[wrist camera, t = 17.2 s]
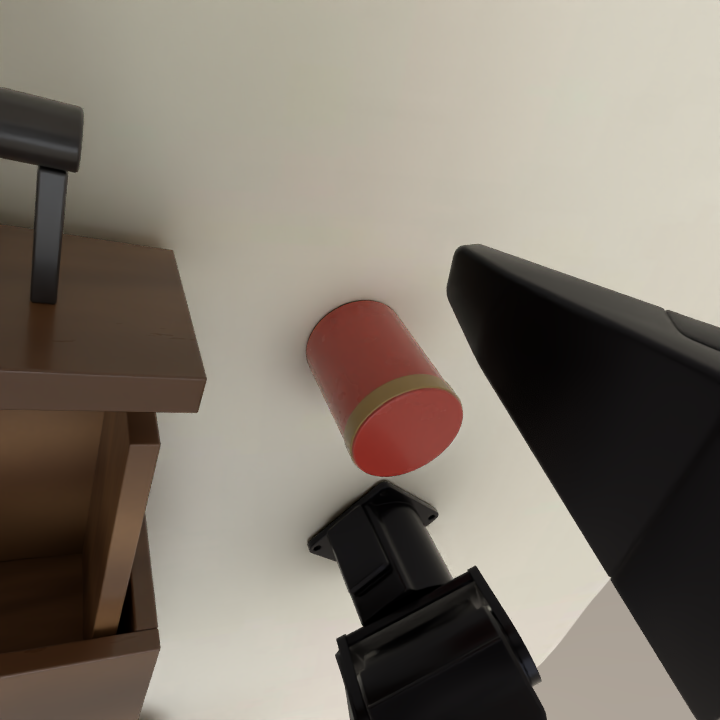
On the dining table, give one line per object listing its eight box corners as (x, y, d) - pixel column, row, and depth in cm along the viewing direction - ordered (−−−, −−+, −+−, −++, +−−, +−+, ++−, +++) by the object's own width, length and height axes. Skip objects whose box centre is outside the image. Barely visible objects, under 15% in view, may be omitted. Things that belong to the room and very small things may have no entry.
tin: (362, 279, 24) (425, 368, 20) (419, 333, 27) (484, 420, 23) (283, 352, 25) (326, 453, 21) (347, 396, 28) (396, 491, 24)
